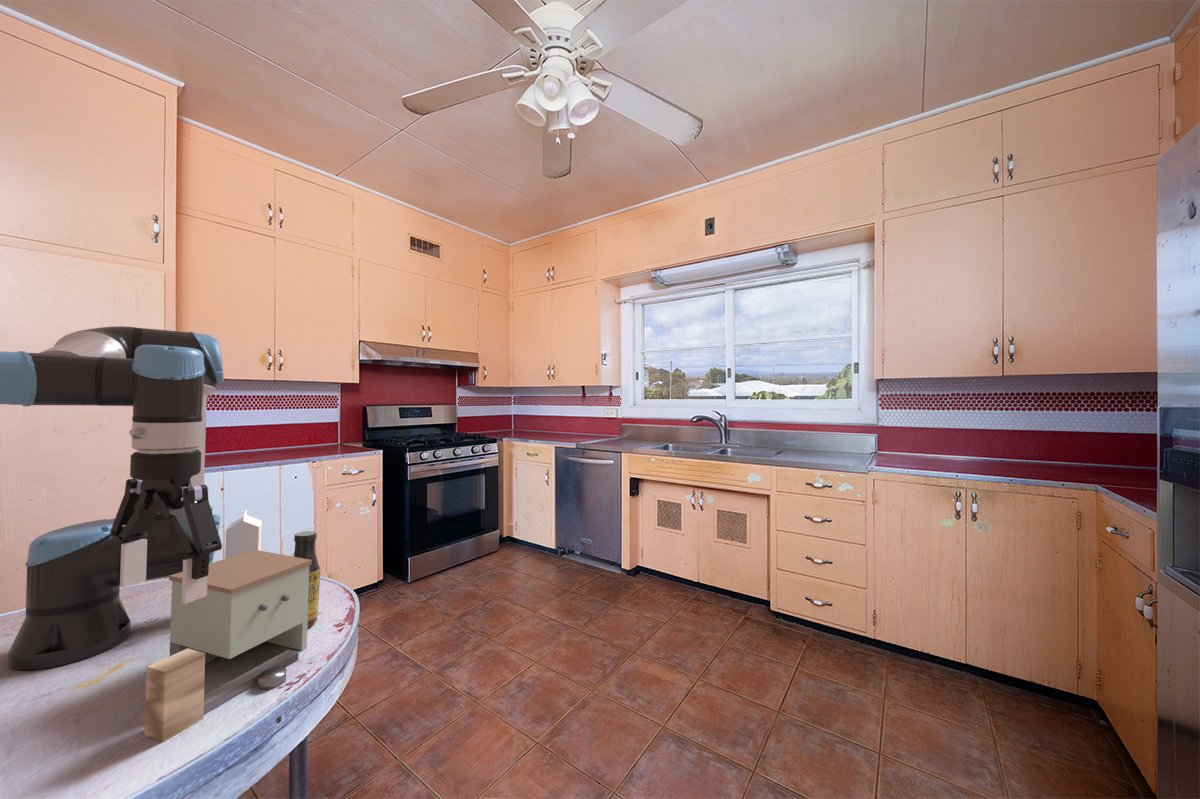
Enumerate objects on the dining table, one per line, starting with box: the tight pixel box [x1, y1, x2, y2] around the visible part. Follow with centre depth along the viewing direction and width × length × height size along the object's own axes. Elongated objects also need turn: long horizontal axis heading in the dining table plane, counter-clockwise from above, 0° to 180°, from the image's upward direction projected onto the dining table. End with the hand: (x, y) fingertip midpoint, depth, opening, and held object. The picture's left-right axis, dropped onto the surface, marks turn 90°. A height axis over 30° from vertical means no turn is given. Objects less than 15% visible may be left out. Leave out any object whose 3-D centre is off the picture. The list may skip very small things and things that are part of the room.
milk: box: [224, 509, 263, 559], centre depth 104 cm, size 6×6×22 cm
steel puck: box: [256, 667, 287, 691], centre depth 76 cm, size 4×4×2 cm
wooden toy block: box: [144, 648, 299, 743], centre depth 73 cm, size 4×21×10 cm, turn 163°
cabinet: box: [168, 550, 312, 664], centre depth 83 cm, size 16×15×17 cm
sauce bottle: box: [293, 530, 321, 629], centre depth 95 cm, size 7×6×20 cm
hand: (162, 591), depth 66 cm, fingers open, 13 cm apart
